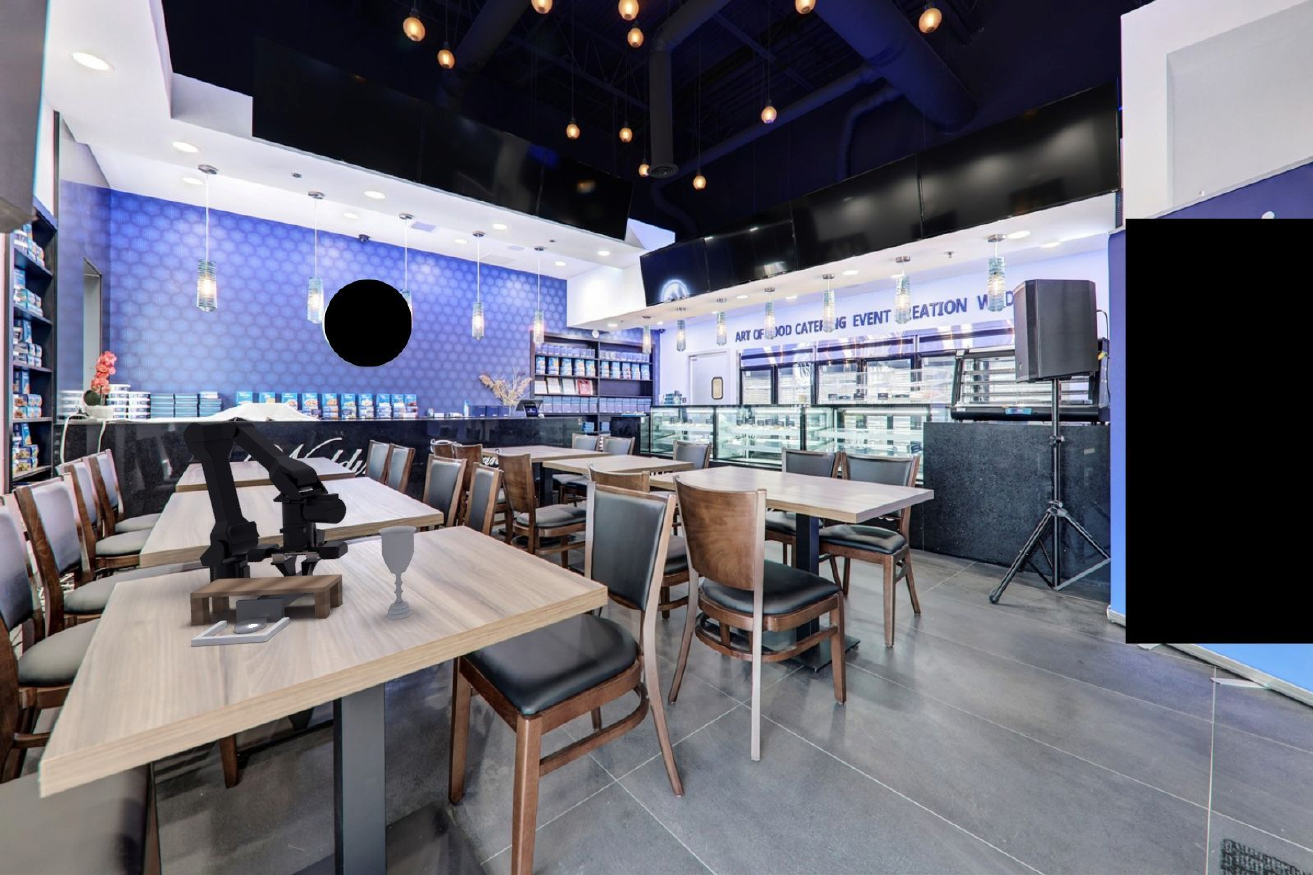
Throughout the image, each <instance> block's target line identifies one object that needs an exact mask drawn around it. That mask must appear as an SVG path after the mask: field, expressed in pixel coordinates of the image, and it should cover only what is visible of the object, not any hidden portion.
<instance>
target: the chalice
mask: <svg viewBox="0 0 1313 875" xmlns="http://www.w3.org/2000/svg"><path fill="white" fill-rule="evenodd" d="M416 531H417V527H416V526H411V525H395V526H387V527H383V528H380V529H379V530H378V533H379V535H380V536H381V537H380V538H381V557H382V559H383V561H384V563H385V565H386V567H387V568H388V570H389V572H390V573H391V574H392V575H395V581H394V585H395V588H396V589H395V591H393V593H394V594H395V597H396V598H395V600H394V602H393V603H391V604H390V606H388V607H389V608H388V609H387V613H386V614H385V618H386V619H387V620H400V619H404V618H407V617H408V618H409V616H411V615H412V614H413V610H412V609H411V606H410V604H409V603H408V601H406V600H403V598H402V594H403V593H404V590H403V588H402V586H403V585H402V584H404V582H403V580H402V574H403V573H405V572H406V571H407V570H408V568H409V566H410V564H411V561H412V559H413V557H414V554H415V535H414V534H415V533H416Z"/></svg>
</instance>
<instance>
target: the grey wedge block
mask: <svg viewBox="0 0 1313 875" xmlns="http://www.w3.org/2000/svg"><path fill="white" fill-rule="evenodd" d="M312 575H314V573H313V574H312ZM293 576H302V570H299V571H296V574H294V575H293ZM304 594H305V593H293V594H271V595H259V597H257V598H249V599H238V600H237V601H235V615H236V624H237V623H239V622H241V621H244V620H247V619H252V618H266V619H267V623H274V622H275V623H277V622H278V621H280V620H281V619H282V618H285V608H286V607H288V606H289V605H291V604H293V602H295V601H296V600H297V599H298V598H300V597H301V596H303V595H304Z"/></svg>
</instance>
